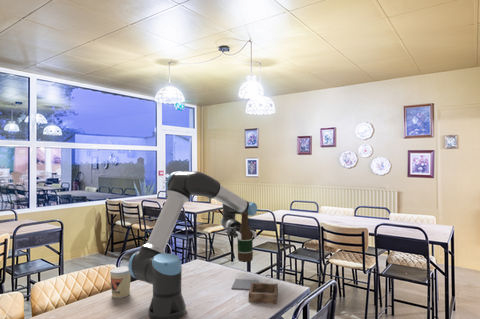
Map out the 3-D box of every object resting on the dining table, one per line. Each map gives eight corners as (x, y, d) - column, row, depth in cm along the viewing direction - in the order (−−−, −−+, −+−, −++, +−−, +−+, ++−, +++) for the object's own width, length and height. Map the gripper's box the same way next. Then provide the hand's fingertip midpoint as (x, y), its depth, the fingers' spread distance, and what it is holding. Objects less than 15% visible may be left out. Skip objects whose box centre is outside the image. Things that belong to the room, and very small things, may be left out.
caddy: (248, 302, 141) (248, 293, 141) (252, 290, 153) (252, 282, 153) (276, 304, 139) (276, 294, 139) (277, 292, 151) (277, 284, 151)
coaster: (231, 289, 155) (231, 287, 155) (235, 279, 167) (235, 278, 167) (255, 290, 153) (255, 289, 153) (258, 281, 165) (258, 279, 165)
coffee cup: (105, 296, 148) (105, 271, 148) (121, 289, 156) (121, 265, 156) (119, 300, 144) (119, 274, 144) (135, 292, 152) (135, 267, 152)
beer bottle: (251, 262, 156) (250, 214, 156) (236, 261, 157) (235, 213, 157) (254, 257, 163) (253, 211, 163) (239, 257, 165) (238, 211, 165)
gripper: (251, 232, 180) (267, 241, 159) (216, 235, 174) (228, 245, 152) (250, 218, 180) (266, 226, 159) (216, 221, 174) (228, 230, 152)
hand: (248, 236), depth 156 cm, fingers closed on beer bottle, 7 cm apart
